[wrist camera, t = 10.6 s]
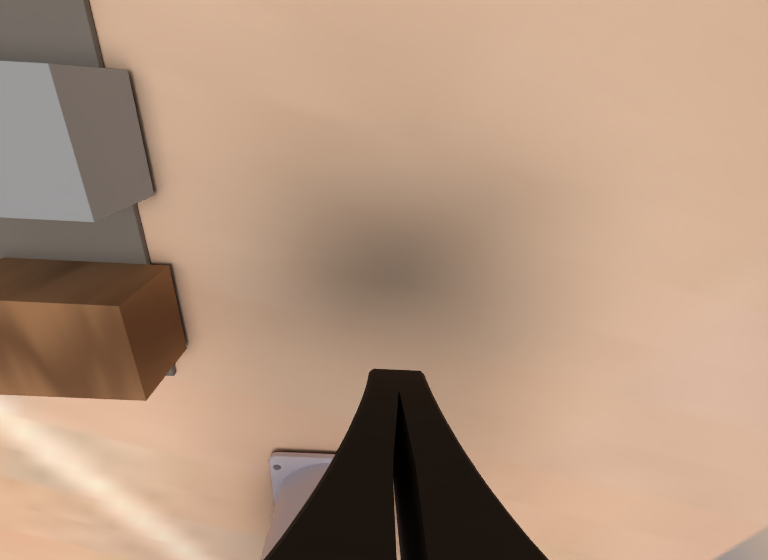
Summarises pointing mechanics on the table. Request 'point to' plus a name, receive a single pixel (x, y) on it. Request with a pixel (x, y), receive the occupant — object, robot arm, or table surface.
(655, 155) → the table surface
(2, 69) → the slate block
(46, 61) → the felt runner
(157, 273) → the walnut block
